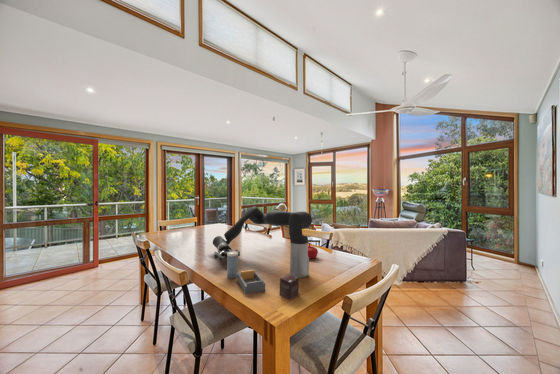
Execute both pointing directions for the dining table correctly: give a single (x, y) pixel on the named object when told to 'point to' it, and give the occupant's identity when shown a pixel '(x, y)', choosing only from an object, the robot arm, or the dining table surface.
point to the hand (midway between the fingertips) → (229, 257)
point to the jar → (232, 264)
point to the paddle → (247, 274)
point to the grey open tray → (252, 284)
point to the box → (289, 286)
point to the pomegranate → (312, 252)
